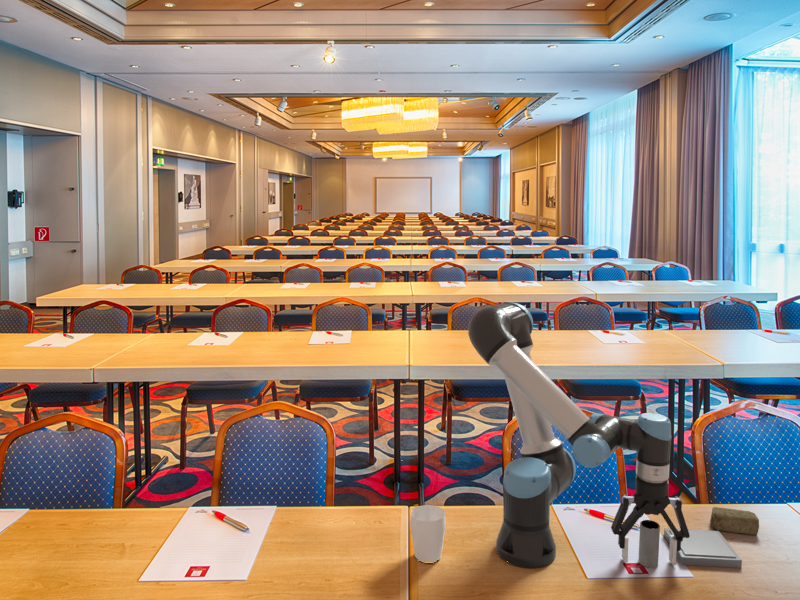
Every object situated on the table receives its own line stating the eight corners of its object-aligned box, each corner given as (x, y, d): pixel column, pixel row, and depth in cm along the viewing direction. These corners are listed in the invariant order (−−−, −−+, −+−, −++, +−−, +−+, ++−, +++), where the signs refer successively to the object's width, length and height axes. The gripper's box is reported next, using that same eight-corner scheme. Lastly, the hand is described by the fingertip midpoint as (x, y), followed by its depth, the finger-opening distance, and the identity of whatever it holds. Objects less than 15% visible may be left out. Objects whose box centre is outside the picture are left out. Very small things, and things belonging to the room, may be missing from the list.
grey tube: (635, 557, 151) (637, 519, 150) (653, 557, 151) (655, 519, 150) (642, 568, 147) (644, 528, 146) (661, 568, 147) (663, 528, 145)
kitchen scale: (681, 564, 148) (682, 556, 148) (663, 535, 162) (664, 527, 162) (741, 567, 146) (742, 559, 146) (718, 538, 160) (718, 529, 160)
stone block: (759, 537, 161) (760, 520, 160) (712, 531, 164) (713, 514, 163) (753, 527, 166) (755, 510, 165) (708, 521, 169) (709, 504, 169)
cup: (450, 552, 155) (450, 508, 153) (438, 570, 147) (438, 524, 145) (418, 544, 159) (418, 502, 157) (404, 562, 151) (404, 517, 149)
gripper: (606, 481, 144) (603, 566, 147) (708, 485, 141) (703, 572, 144) (600, 469, 151) (597, 550, 154) (696, 472, 148) (691, 555, 151)
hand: (648, 560), depth 149 cm, fingers open, 11 cm apart
